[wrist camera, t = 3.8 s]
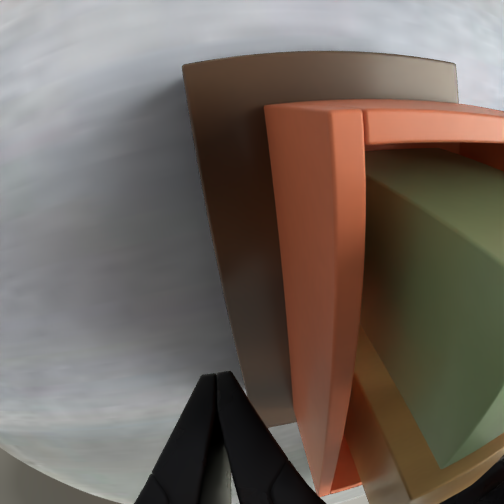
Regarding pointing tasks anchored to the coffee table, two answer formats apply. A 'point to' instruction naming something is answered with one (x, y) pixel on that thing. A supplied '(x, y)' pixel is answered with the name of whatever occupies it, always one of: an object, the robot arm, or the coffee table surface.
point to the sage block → (438, 291)
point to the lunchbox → (344, 241)
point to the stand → (261, 183)
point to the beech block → (400, 442)
